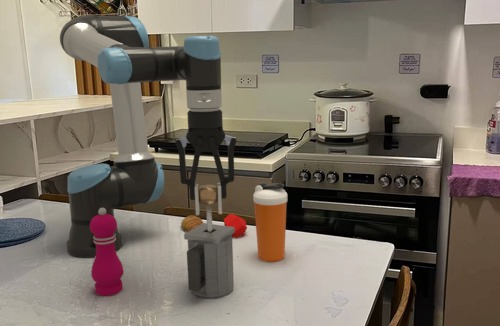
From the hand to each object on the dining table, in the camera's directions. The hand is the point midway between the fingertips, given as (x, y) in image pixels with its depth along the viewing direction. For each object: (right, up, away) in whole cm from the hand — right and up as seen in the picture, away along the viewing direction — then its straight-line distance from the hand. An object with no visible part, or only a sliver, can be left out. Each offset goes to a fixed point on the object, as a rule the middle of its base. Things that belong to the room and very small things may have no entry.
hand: (209, 212), depth 118 cm
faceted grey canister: (0, -18, +3) cm, 19 cm away
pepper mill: (-24, -19, +5) cm, 30 cm away
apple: (+5, -11, +40) cm, 41 cm away
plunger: (0, -14, +3) cm, 14 cm away
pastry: (-8, -10, +45) cm, 47 cm away
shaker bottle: (+15, -14, +22) cm, 30 cm away
